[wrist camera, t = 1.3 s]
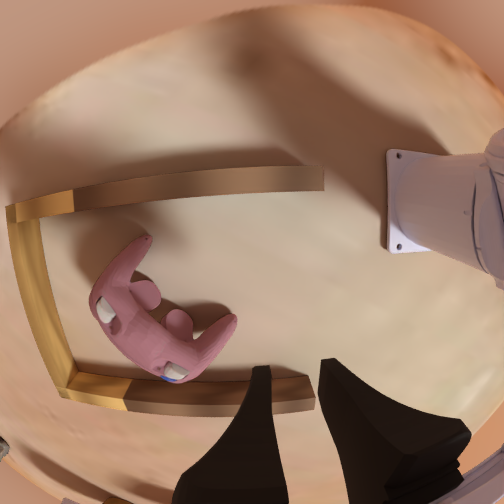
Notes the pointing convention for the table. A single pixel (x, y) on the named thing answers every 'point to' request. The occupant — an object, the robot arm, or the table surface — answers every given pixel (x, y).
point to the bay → (135, 390)
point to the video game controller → (152, 322)
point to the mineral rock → (3, 448)
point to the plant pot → (115, 501)
